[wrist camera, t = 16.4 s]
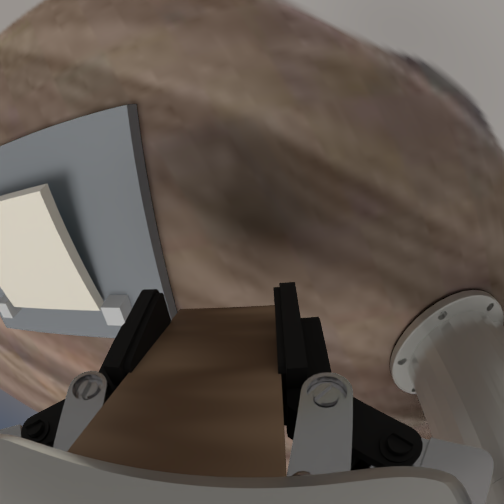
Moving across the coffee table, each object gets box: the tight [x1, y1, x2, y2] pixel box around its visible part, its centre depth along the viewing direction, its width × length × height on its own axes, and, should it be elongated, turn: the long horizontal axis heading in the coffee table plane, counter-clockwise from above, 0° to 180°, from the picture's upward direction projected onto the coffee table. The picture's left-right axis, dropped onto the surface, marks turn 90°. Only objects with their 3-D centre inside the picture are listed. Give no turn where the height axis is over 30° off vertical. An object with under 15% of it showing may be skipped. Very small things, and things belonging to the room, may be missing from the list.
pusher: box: [67, 305, 286, 477], centre depth 8 cm, size 4×4×10 cm
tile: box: [0, 184, 104, 311], centre depth 18 cm, size 10×10×1 cm
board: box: [0, 104, 177, 338], centre depth 20 cm, size 20×17×3 cm
